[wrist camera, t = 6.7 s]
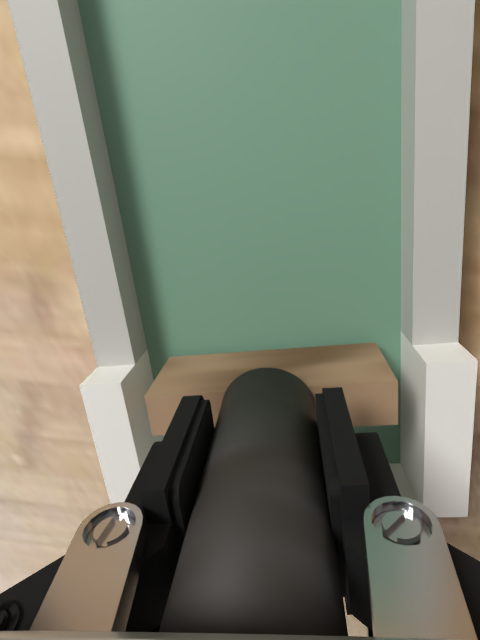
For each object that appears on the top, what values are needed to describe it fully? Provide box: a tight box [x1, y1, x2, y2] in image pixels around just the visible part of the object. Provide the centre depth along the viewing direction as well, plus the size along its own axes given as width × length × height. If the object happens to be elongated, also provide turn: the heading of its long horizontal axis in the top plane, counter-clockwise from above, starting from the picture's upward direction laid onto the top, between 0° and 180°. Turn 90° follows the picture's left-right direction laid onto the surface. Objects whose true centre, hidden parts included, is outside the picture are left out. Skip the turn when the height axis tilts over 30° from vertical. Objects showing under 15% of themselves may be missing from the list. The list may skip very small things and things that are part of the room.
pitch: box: [8, 0, 478, 518], centre depth 14 cm, size 13×24×4 cm, turn 6°
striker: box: [144, 342, 398, 636], centre depth 11 cm, size 8×3×11 cm, turn 96°
